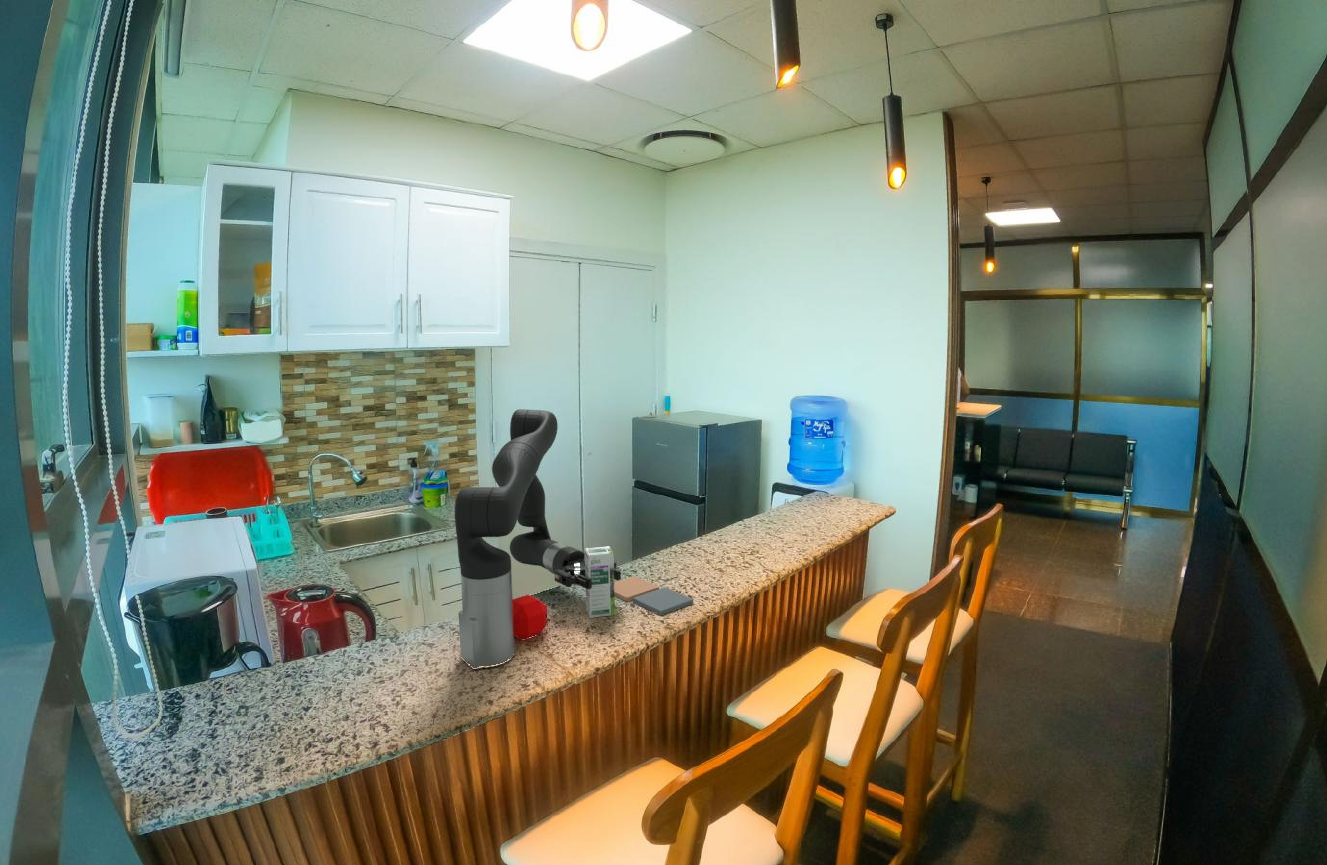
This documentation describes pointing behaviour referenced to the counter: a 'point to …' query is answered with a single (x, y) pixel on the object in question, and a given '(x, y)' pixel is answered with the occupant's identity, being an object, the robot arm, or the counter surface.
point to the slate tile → (663, 601)
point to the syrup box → (600, 581)
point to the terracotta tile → (632, 588)
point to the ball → (528, 616)
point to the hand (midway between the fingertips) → (605, 580)
